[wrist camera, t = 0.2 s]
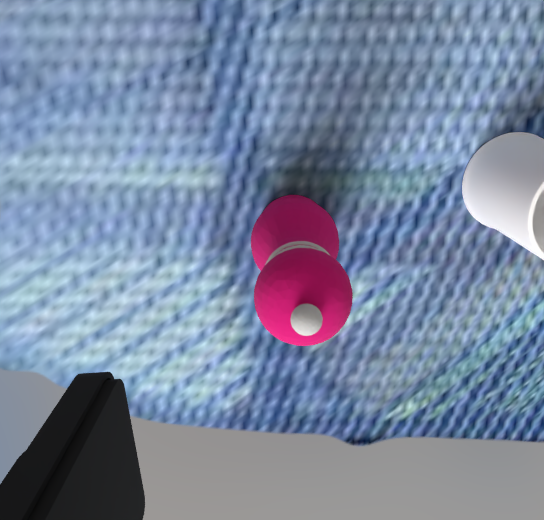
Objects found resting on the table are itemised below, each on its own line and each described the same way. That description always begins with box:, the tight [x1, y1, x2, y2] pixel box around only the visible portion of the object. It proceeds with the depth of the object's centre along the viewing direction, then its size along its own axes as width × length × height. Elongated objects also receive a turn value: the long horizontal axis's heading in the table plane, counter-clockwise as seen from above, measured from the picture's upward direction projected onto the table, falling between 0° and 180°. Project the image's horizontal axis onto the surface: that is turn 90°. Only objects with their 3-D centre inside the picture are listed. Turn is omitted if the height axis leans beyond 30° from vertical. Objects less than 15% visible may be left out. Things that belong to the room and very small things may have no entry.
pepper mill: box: [251, 195, 352, 346], centre depth 37 cm, size 7×7×20 cm
